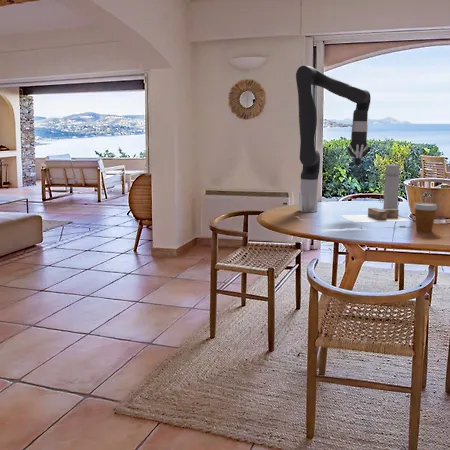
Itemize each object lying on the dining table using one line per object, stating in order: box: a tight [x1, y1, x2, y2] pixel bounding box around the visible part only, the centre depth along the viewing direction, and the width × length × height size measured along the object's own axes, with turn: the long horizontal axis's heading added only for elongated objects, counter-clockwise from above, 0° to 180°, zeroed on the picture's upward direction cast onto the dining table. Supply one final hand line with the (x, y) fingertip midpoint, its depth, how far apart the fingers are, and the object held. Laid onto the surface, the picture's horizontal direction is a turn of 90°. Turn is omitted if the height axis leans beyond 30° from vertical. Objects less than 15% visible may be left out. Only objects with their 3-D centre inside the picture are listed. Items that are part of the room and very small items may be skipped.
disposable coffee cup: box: [413, 202, 438, 234], centre depth 239 cm, size 10×10×12 cm
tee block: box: [367, 207, 400, 220], centre depth 267 cm, size 12×12×4 cm
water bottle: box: [379, 164, 401, 210], centre depth 287 cm, size 9×8×25 cm
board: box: [338, 214, 411, 224], centre depth 266 cm, size 28×20×1 cm
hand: (357, 165), depth 276 cm, fingers closed
